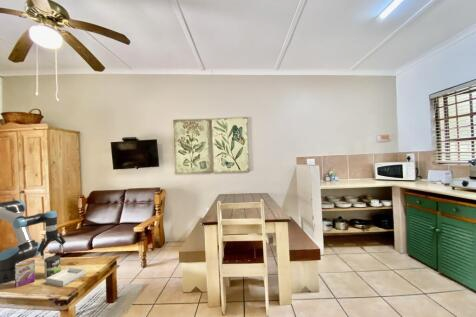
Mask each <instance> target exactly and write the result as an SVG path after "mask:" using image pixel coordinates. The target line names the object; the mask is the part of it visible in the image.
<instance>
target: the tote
mask: <svg viewBox="0 0 476 317" xmlns="http://www.w3.org/2000/svg"><path fill="white" fill-rule="evenodd" d="M86 272H87V270H86V269H84V268H77V267H70V266H69V267H67V268H65V269H63V270H60V272H58V273H56V274H54V275H52V276H50V277H48V278H45V283H46V285H53V286H58V287H66V286H68V285H69V284H71V283H73V282H75V281H76V280H78V279H80V278H82V277H83V276H84V277H85V276H86Z"/></svg>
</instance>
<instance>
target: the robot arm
mask: <svg viewBox="0 0 476 317" xmlns="http://www.w3.org/2000/svg"><path fill="white" fill-rule="evenodd" d="M26 207H27V206H26V203H25V202H24V201H23V200H21V199H15V200H8V201H0V220H2V221H5V222H8V223H10V224H11V226H12V229H13V230H12V231H14V232H13V233H14V234H15V237H16V240H17V243H18V245H17V246H13V247H9V248H6V249H4V250H2V251H0V285H1V284H6V283H9V282H10V283H11V282H12V281H13V282H14V281H15V264H17V263H21V262H25V261H28V259H29V260H30V259H32V258H34V257H36V256H38V255H39V254H40V256H41V260H43V261H44V260H45V259H46V251H45V250H46V248H47V247H48V245H49V244H50V243H53V242H54V241H56V242H57V243H58V249H59V251H58V252H59V253H63V251H64V250H63V248H64V245H65V243H66V239H64V237H63V236H62V233H61V232H60V233H59V232H58V231H59V230H58V215H57V214H58V213H57V211H56V210H48V211H46V212H45V213H44V212H40V213H39V212H38V213H36V214H33V215H29V216H24V213H25V211H26V209H27V208H26ZM42 223H44V224H45V238H41V241H40V242H39V241H36V240H35V239H32V236H31V233H30V230H29V228H28V227H30V226H34V225H39V224H42Z"/></svg>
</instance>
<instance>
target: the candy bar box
mask: <svg viewBox="0 0 476 317" xmlns="http://www.w3.org/2000/svg"><path fill="white" fill-rule="evenodd" d="M35 263H36V259H29V260H25V261H21V262H19V263H17V264H15V280H14V288H17V287H21V286H26V285H29V284H32V283H35V282H36V275H35V274H36V269H35V268H36V264H35Z"/></svg>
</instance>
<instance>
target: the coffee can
mask: <svg viewBox="0 0 476 317" xmlns="http://www.w3.org/2000/svg"><path fill="white" fill-rule="evenodd" d="M43 261H44V278H45V279H46V278H48V277H50V276H52V275H54V274H56V273H58V272H60V271H61V255H57V254H56V255H51V256H47V257H45V260H43Z"/></svg>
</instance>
